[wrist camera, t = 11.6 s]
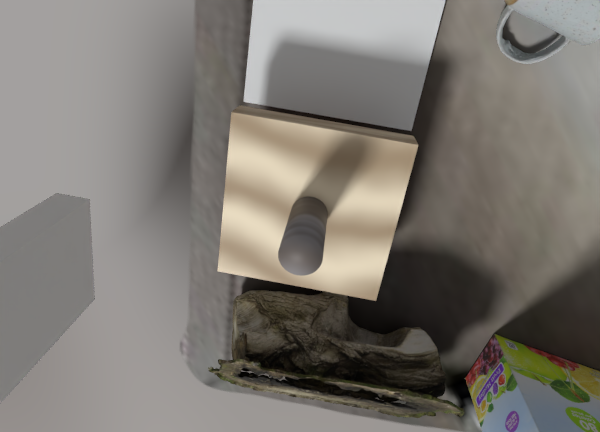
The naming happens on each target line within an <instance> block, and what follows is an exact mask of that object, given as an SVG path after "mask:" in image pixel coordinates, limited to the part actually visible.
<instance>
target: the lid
mask: <svg viewBox="0 0 600 432" xmlns="http://www.w3.org/2000/svg"><path fill="white" fill-rule="evenodd" d="M417 149H418V143H417V141H416V139H415V138H414V136H412V135H406V134H401V133H395V132H389V131H384V130H378V129H372V128H367V127H361V126H355V125H349V124H344V123H338V122H332V121H327V120H321V119H315V118H310V117H304V116H298V115H293V114H287V113H281V112H276V111H270V110H264V109H259V108H253V107H247V106H241V105H240V106H238V107H237V108H236V109H235V110H234V111H232V113H231V124H230V135H229V147H228V158H227V170H226V181H225V193H224V204H223V216H222V227H221V239H220V250H219V262H218V271H219V272H225V273H230V274H235V275H240V276H246V277H251V278H256V279H262V280H267V281H272V282H278V283H283V284H288V285H294V286H299V287H304V288H310V289H315V290H320V291H326V292H331V293H336V294H342V295H347V296H352V297H358V298H363V299H368V300H374V301H376V299H377V296H378V292H379V288H380V285H381V281H382V277H383V274H384V270H385V266H386V263H387V259H388V255H389V252H390V248H391V244H392V241H393V237H394V233H395V230H396V226H397V222H398V219H399V215H400V211H401V208H402V204H403V200H404V196H405V193H406V189H407V185H408V182H409V178H410V174H411V171H412V167H413V163H414V160H415V156H416V152H417Z"/></svg>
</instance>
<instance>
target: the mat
mask: <svg viewBox="0 0 600 432" xmlns="http://www.w3.org/2000/svg"><path fill="white" fill-rule="evenodd" d="M445 1H446V0H253V10H252V21H251V31H250V41H249V51H248V62H247V72H246V82H245V93H244V102H248V103H254V104H260V105H265V106H271V107H277V108H282V109H288V110H294V111H300V112H305V113H311V114H317V115H322V116H328V117H334V118H339V119H345V120H351V121H357V122H362V123H368V124H374V125H379V126H385V127H391V128H396V129H402V130H408V131H412V127H413V123H414V119H415V115H416V112H417V108H418V104H419V100H420V96H421V93H422V89H423V85H424V81H425V77H426V73H427V70H428V66H429V62H430V58H431V54H432V50H433V47H434V43H435V39H436V35H437V31H438V27H439V24H440V20H441V16H442V12H443V8H444V5H445Z"/></svg>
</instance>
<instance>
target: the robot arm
mask: <svg viewBox="0 0 600 432" xmlns="http://www.w3.org/2000/svg"><path fill="white" fill-rule="evenodd" d="M94 297H95V296H94V277H93V256H92V237H91V217H90V199H85V198H81V197H75V196H70V195H65V194H59V193H56V194H54V195H53V196H51V197H49V198H48V199H46V200H44V201H43V202H41V203H39V204H38V205H36V206H35V207H33V208H31V209H29V210H28V211H26V212H24V213H23V214H21V215H20V216H18V217H17V218H15V219H13V220H11V221H10V222H8V223H6V224H5V225H3V226H1V227H0V403H1V402H2V401H3V400H4V399H5V398H6V397H7V396H8V394H9V393H10V392H11V391H12V390H13V389H14V388H15V387H16V386H17V385H18V384H19V382H20V381H21V380H22V379H23V378H24V377H25V376H26V375H27V374H28V372H29V371H30V370H31V369H32V368H33V367H34V366H35V365H36V364H37V362H38V361H39V360H40V359H41V358H42V357H43V356H44V355H45V354H46V352H47V351H48V350H49V349H50V348H51V347H52V346H53V345H54V344H55V342H56V341H57V340H58V339H59V338H60V337H61V336H62V335H63V334H64V333H65V331H66V330H67V329H68V328H69V327H70V326H71V325H72V324H73V322H74V321H75V320H76V319H77V318H78V317H79V316H80V315H81V314H82V312H84V310H85V309H86V308H87V307H88V306H89V305H90V304H91V303H92V302H93V300H94V299H95V298H94Z"/></svg>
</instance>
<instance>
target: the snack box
mask: <svg viewBox="0 0 600 432" xmlns="http://www.w3.org/2000/svg"><path fill="white" fill-rule="evenodd" d="M465 379H466V382H467V385H468V388H469V391H470V394H471V397H472V400H473V404H474V407H475V410H476V413H477V416H478V420H479V423H480V426H481V429H482V432H600V371H597V370H594V369H592V368H589V367H586V366H583V365H580V364H578V363H575V362H572V361H569V360H566V359H563V358H560V357H558V356H555V355H552V354H549V353H546V352H543V351H540V350H538V349H535V348H532V347H529V346H526V345H523V344H520V343H518V342H515V341H512V340H509V339H506V338H504V337H501V336H498V335H496V334H494V335H493V336H492V338H491V339H490V341H489V342H488V344H487V346H486V347H485V349H484V350H483V352H482V353H481V355H480V356H479V358H478V359H477V361H476V362H475V364H474V365H473V367H472V368H471V370H470V372H469V373H468V375H467V376H466V378H465Z"/></svg>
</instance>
